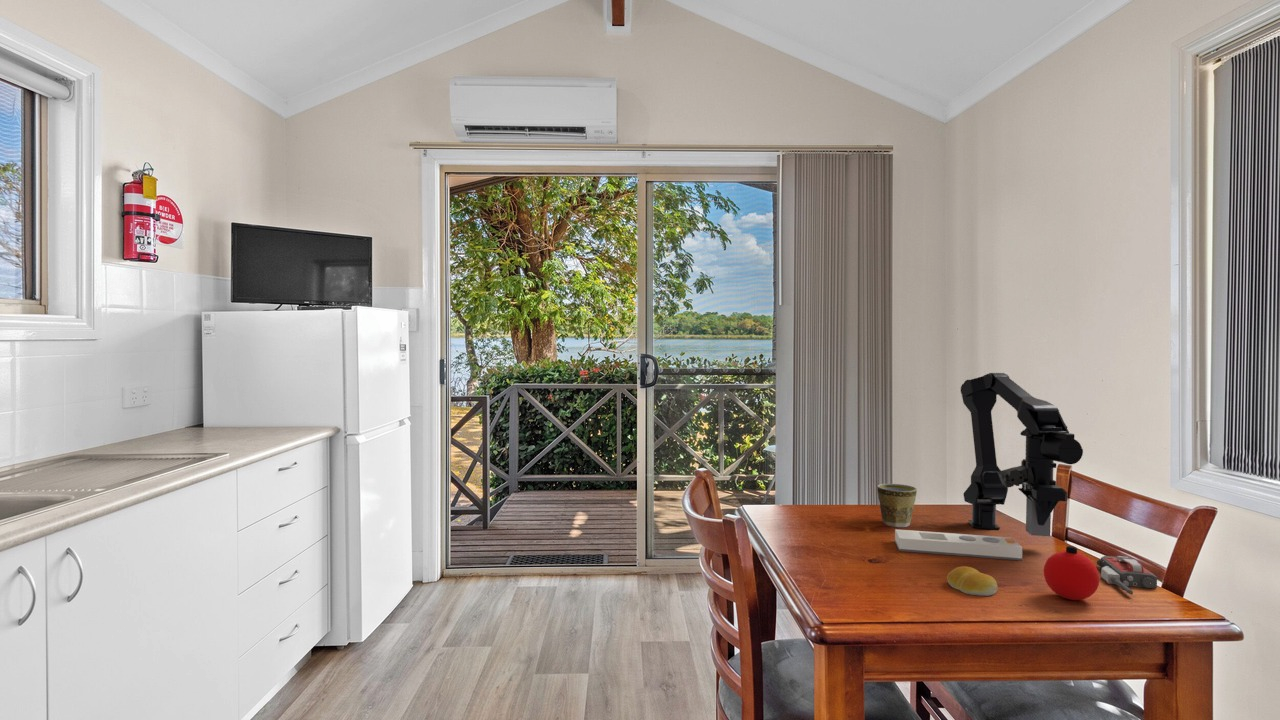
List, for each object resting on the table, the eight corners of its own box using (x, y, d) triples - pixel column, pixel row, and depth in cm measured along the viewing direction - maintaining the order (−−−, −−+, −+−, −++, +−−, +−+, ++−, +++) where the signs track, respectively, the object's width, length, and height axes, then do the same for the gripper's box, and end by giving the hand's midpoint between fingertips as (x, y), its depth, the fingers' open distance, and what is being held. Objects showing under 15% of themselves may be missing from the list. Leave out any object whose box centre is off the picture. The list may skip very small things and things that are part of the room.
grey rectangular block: (1025, 530, 162) (1026, 496, 161) (1044, 531, 161) (1045, 498, 160) (1031, 535, 158) (1031, 500, 158) (1050, 536, 157) (1050, 501, 157)
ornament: (1108, 609, 123) (1109, 555, 123) (1055, 605, 125) (1056, 552, 124) (1085, 591, 132) (1086, 541, 132) (1035, 588, 134) (1036, 538, 133)
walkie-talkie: (1085, 566, 148) (1124, 599, 129) (1086, 546, 148) (1124, 576, 129) (1131, 570, 146) (1177, 604, 127) (1132, 550, 146) (1178, 581, 127)
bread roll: (976, 599, 128) (976, 579, 128) (940, 584, 136) (940, 564, 136) (1008, 594, 131) (1008, 574, 131) (971, 579, 139) (971, 560, 139)
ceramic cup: (922, 529, 177) (922, 491, 176) (884, 528, 177) (884, 491, 177) (903, 516, 190) (904, 481, 189) (868, 516, 190) (868, 481, 190)
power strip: (895, 541, 165) (895, 526, 165) (1011, 550, 159) (1012, 535, 159) (899, 550, 157) (899, 535, 157) (1022, 560, 151) (1022, 544, 151)
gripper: (991, 449, 170) (990, 511, 170) (1013, 461, 152) (1012, 530, 152) (1040, 451, 167) (1039, 514, 167) (1068, 464, 149) (1067, 534, 149)
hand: (1038, 522), depth 159 cm, fingers closed on grey rectangular block, 4 cm apart
